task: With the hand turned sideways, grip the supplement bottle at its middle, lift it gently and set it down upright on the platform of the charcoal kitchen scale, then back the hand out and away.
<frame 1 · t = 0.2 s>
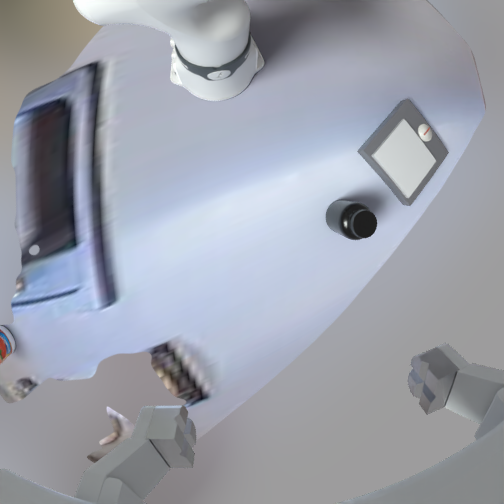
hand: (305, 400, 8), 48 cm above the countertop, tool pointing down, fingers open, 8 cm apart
fruit juice: (6, 337, 59), on the countertop
kitchen scale: (403, 151, 53), on the countertop
supplement bottle: (339, 215, 56), on the countertop
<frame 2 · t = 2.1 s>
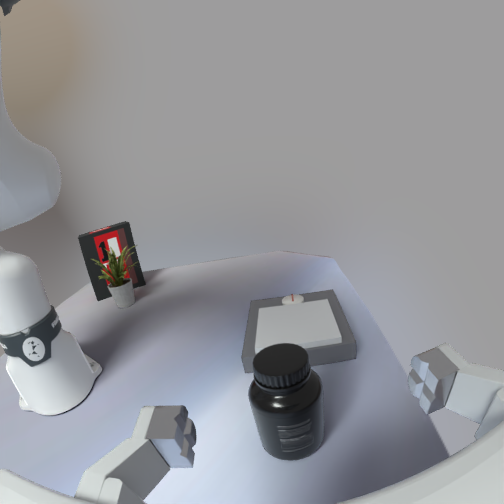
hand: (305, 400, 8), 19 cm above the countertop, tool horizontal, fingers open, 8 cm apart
house plant: (130, 304, 70), on the countertop
kitchen scale: (296, 333, 46), on the countertop
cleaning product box: (120, 289, 83), on the countertop
supplement bottle: (292, 439, 25), on the countertop
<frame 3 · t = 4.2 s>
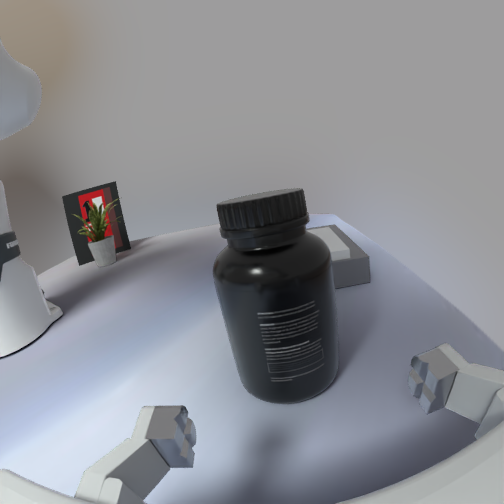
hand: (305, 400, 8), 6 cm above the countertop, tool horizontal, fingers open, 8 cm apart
house plant: (111, 263, 63), on the countertop
kitchen scale: (293, 266, 39), on the countertop
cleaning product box: (104, 255, 76), on the countertop
supplement bottle: (289, 374, 18), on the countertop
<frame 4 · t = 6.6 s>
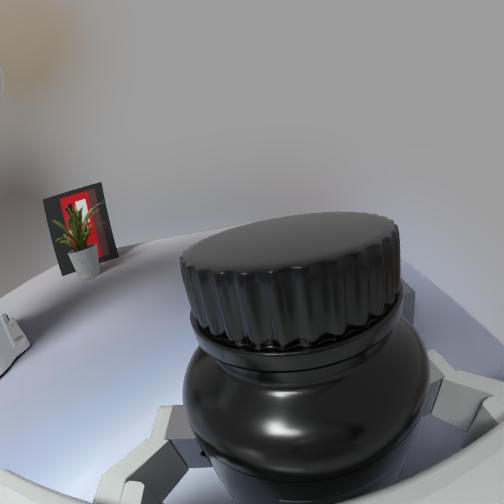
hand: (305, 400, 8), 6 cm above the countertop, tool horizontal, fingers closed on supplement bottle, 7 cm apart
house plant: (94, 275, 54), on the countertop
kitchen scale: (309, 295, 30), on the countertop
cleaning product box: (90, 264, 67), on the countertop
supplement bottle: (314, 490, 9), on the countertop, touching gripper
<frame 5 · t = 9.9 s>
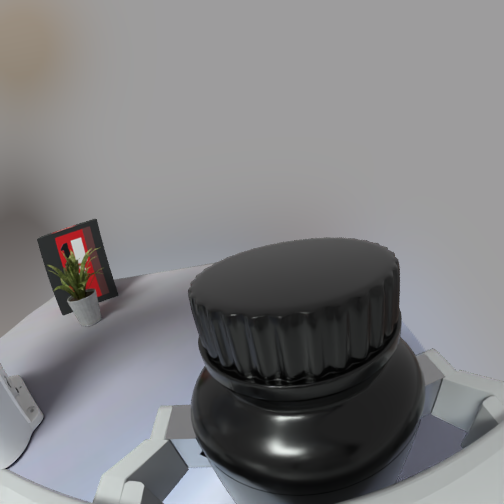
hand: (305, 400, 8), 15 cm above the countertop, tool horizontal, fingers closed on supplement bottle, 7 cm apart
house plant: (96, 321, 52), on the countertop
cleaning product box: (89, 301, 65), on the countertop
supplement bottle: (314, 496, 9), point 8 cm above the countertop, touching gripper
when the fingers open (12 cm above the countertop, at t = 13.0 s): supplement bottle stays where it is, resting on kitchen scale.
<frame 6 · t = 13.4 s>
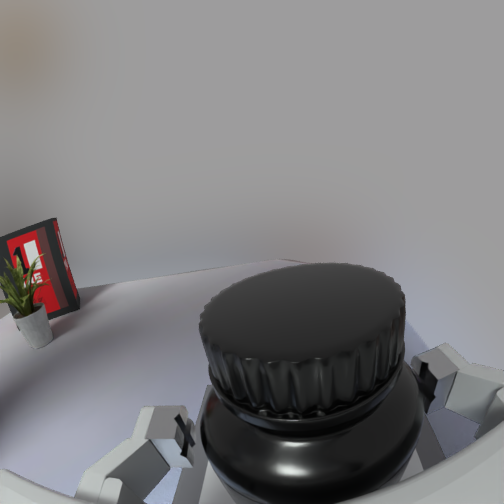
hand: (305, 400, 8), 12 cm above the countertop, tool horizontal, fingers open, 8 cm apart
house plant: (46, 342, 38), on the countertop
kitchen scale: (312, 488, 13), on the countertop
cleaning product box: (50, 314, 51), on the countertop
supplement bottle: (316, 502, 9), point 4 cm above the countertop, touching kitchen scale
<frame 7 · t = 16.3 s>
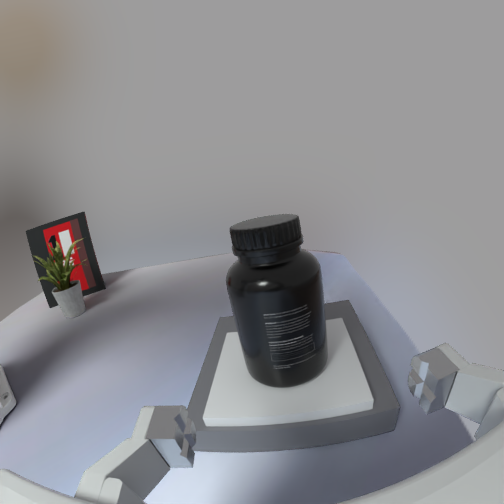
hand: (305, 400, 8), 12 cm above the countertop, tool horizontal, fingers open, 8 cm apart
house plant: (80, 313, 51), on the countertop
kitchen scale: (289, 377, 26), on the countertop
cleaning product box: (77, 294, 63), on the countertop
supplement bottle: (287, 365, 22), point 4 cm above the countertop, touching kitchen scale
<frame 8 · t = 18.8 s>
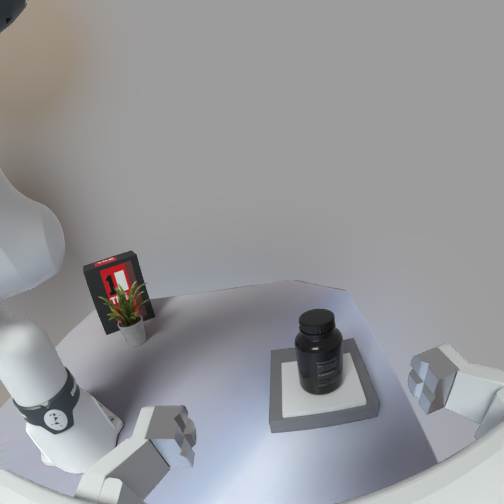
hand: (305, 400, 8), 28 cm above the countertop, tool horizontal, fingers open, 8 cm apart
house plant: (142, 341, 67), on the countertop
kitchen scale: (319, 387, 43), on the countertop
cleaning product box: (128, 321, 80), on the countertop
supplement bottle: (321, 382, 39), point 4 cm above the countertop, touching kitchen scale
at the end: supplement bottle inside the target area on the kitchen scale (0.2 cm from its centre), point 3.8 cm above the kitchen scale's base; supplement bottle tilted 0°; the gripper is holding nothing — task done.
